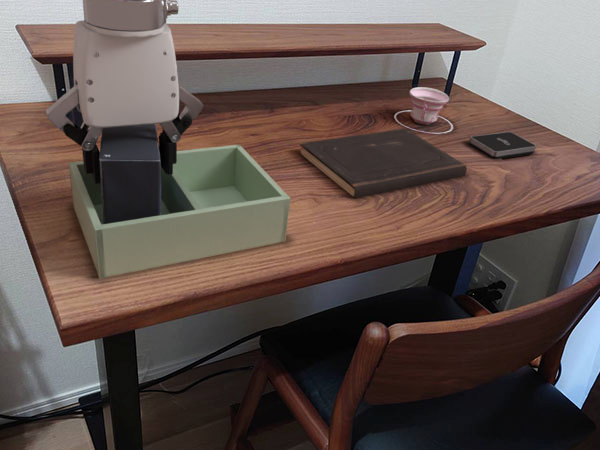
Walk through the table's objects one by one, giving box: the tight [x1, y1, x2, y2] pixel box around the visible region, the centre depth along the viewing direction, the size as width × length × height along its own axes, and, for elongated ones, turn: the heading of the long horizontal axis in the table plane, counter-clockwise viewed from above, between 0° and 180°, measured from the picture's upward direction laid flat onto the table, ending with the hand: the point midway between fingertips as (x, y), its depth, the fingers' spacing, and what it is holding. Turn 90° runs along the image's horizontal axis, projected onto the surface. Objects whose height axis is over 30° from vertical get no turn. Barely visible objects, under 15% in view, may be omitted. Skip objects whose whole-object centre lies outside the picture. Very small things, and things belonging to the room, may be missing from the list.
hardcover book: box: [299, 128, 468, 200], centre depth 92 cm, size 16×23×2 cm
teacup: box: [393, 86, 454, 135], centre depth 110 cm, size 12×12×6 cm
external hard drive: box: [468, 131, 537, 160], centre depth 104 cm, size 7×11×2 cm, turn 118°
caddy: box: [68, 144, 291, 280], centre depth 68 cm, size 22×16×7 cm
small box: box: [99, 124, 161, 224], centre depth 64 cm, size 11×6×10 cm, turn 15°
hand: (131, 172), depth 63 cm, fingers closed on small box, 7 cm apart
